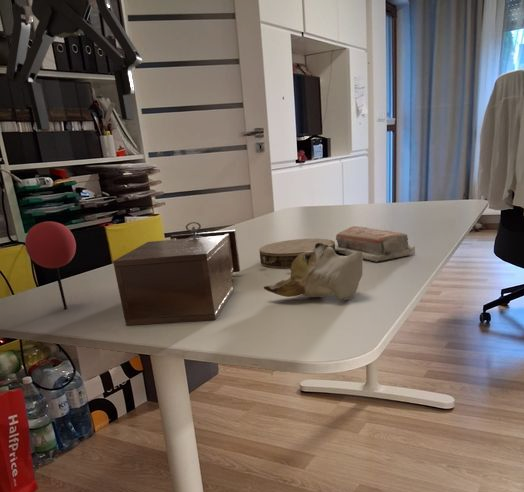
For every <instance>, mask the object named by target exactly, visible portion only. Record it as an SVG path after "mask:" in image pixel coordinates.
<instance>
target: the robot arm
mask: <svg viewBox="0 0 524 492" xmlns="http://www.w3.org/2000/svg"><path fill="white" fill-rule="evenodd" d="M31 1H32V2H31V5H21V4H19V3H13V4H12V5H11V12H12V19H13V25H12V32H11V38H10V44H9V51H8V57H7V63H6V64H7V65H6V69H5V76H6V78H7V79H8V80H11V81H12V80H13V81H16V82H19V83H20V85H21V88H22V92H23V96H24V100H25V104H26V106H27V107H29V108H32V111H33V117H34V121H35V125H36V129H37V131H50V130H52V129H51V125H50V120H49V116H48V111H47V107H46V102H45V98H44V93H43V90H42V84H41V83H40V82H37V81H36V79H37V76H38V74H39V72H40V70H41V68H42V65H43V63H44V60H45V58H46V56H47V54H48V52H49V49H50V47H51V44H53V43H54V42H55V40H56V38H59V39H63V38H64V39H65V38H67V37H70V36H74V37H78V36H81V34H82V33H83V34H84V35H86V36H87V37H88V38H89V39H90V40H91V41H92V42H93V43H94V44H95V45H96V46H97V47H98V48H99V49H100V50H101V51H102V53H104V54H105V55H106V56H107V58H108V59H109V60H111V61H112V62H113V63H114V65H116V67H117V69H115V70H113V77H114V81H115V87H116V88H115V89H116V92H117V99H118V103H119V109H120V115H121V120H124V121H133V120H134V116H133V110H132V104H131V99H130V96H131V95H134V94H135V85H134V80H133V74H132V71H133V68H134V67H136V66H138V65H141V64H142V63H143V58H142V56H141V54H140V53H139V51H138V50H137V48H136V46H135V45H134V43H133V42H132V40H131V39H130V37H129V35H128V34H127V32H126V30H125V29H124V27H123V26H122V24H121V22H120V20H119V19H118V18H117V16H116V14H115V13H114V10H113V6H112V3H111V0H31ZM92 8H93V9H94V11H96V12H98V13H99V14H100V16H101V17H102V19H103V20H104V22H105V24H106V25H107V27H108V28H109V30H110V32H111V33H112V35H113V36H114V38H115V40H116V41H117V43H118V44H119V46H120V48H121V49H122V51H123V52H124V54H125V56H126V57H124V55H123V54H121V53H120V51H118V49H117V48H116V47H115V46H114V45H113V44H112V43H111V42H110V41H109V40H107V38H106V37H105V36H104V35H103V34H102V33H101V32H100V30H98V28H97V27H96V26H95V25H94V24H93V23H92V22H91V21H90V20H89V17H90V13H91V11H92ZM34 17H35V18H36V20H37V21H38V23H37V26H36V28H35V30H34V38H33V40H32V43H31V44H30V47H29V41H30V34H31V24H32V23H33V22H34V19H33V18H34ZM28 47H29V50H28Z"/></svg>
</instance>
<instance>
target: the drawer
mask: <svg viewBox="0 0 524 492" xmlns="http://www.w3.org/2000/svg"><path fill="white" fill-rule="evenodd" d="M222 235H226V236H227V244H228V252H229V260H230V268H231V276H232V275H233V274H234V273H239V272H240V271H241V265H240V257H239V248H238V247H239V246H238V239H237V230H236V229H231V230H230V229H229V230H216V231H206V232H204V231H203V232H196V236H202V237H210V236H222ZM192 236H193V233H183V234H172V235H170V236H169V238H170V240H175V239H187V238H189V237H192Z"/></svg>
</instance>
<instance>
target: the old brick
mask: <svg viewBox="0 0 524 492" xmlns="http://www.w3.org/2000/svg"><path fill="white" fill-rule="evenodd" d="M335 240H336V243H335V253H336V254H341V255H344V256H349V255H351V254H354V253H357V252H359V251H361V252H362V254H363V260H366V261H370V262H376V263H377V262H382V261H386V260H391V259H396V258H401V257H402V258H403V257H405V256H412V255H415V254H416V246H411V245H409V241H408V240H409V237H408V234H407V233H404V232H398V231H393V230H386V229H385V230H384V229H379V228H373V227H366V226H359V225H352V226H350V227H348V228H346V229H343V230H342V231H340V232H338V233H337V234H336V236H335Z"/></svg>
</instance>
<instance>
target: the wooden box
mask: <svg viewBox="0 0 524 492" xmlns="http://www.w3.org/2000/svg"><path fill="white" fill-rule="evenodd" d="M112 263H113V267H114V268H113V269H114V273H115V278H116V283H117V289H118V293H119V297H120V302H121V307H122V312H123V316H124V317H123V318H124V321H125V326H139V325H154V324H157V325H158V324H173V323H189V322H190V323H191V322H205V321H216V320H217V318H218V316H219V315H220V314H221V312H222V311H223V309H224V307H225V305H226V304H227V303H228V301H229V300H230V298H231V296H232V295H233V294H234V285H233V277H232V275H231V268H230V260H229V252H228V244H227V236H226V235H222V236H210V237H199V238H187V239H175V240H171V239H166V240H154V241H147V242H144V243H143V244H142V245H140V246H138V247H136V248H134V249H132V250H130V251H129V252H126V253H125V254H123V255H122V256H120V257H118V258H116V259H114V260H113V261H112Z"/></svg>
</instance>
